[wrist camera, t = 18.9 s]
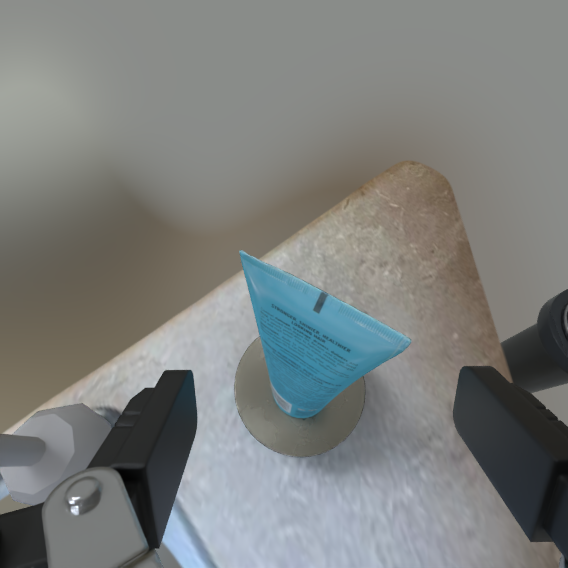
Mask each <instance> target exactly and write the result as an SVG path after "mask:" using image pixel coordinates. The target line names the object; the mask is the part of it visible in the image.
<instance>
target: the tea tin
mask: <svg viewBox="0 0 568 568" xmlns="http://www.w3.org/2000/svg"><path fill="white" fill-rule="evenodd" d="M234 394H235V401H236V406H237V409H238V412H239V415H240V417H241V419H242V421H243V423H244V425H245V426H246V428H247V429H248V430H249V432H250V433H251V434H252V435H253V436H254V437H255V438H256V439H257V440H258V441H259V442H260V443H262V444H263V445H264V446H266V447H267V448H269V449H271V450H273V451H275V452H277V453H280V454H283V455H287V456H292V457H309V456H315V455H319V454H322V453H324V452H327V451H329V450H331V449H333V448H334V447H336V446H338V445H339V444H340V443H341V442H343V441H344V440H345V439H346V438H347V437H348V436H349V435H350V433H351V432H352V431H353V429H354V428H355V426H356V424H357V423H358V421H359V419H360V416H361V413H362V411H363V406H364V402H365V381H364V376H362V377H361V378H359V379H358V380H356V381H355V382H353V383H352V384H351V385H350V386H348V387H347V388H346V389H344V390H343V391H342V392H341V393H339V394H338V395H337V396H336V397H335V398H334V399H333V400H331V401H330V402H329V403H328V404H327V405H326V406H325V407H324V408H323V409H322V410H321V411H320V412H318V413H317V414H315V415H314V416H311V417H308V418H295V417H292V416H290V415H288V414H286V413H285V412H283V411H282V410H281V409H280V408H279V406H278V405H277V403H276V401H275V399H274V396H273V392H272V387H271V383H270V378H269V373H268V368H267V364H266V359H265V355H264V351H263V347H262V342H261V338H260V336H259V337H258V338H257V339H256V340H255V341H254V342H253V343H252V344H251V345H250V346H249V347H248V349H247V350H246V351H245V353H244V355H243V357H242V358H241V360H240V363H239V365H238V368H237V372H236V376H235V384H234Z"/></svg>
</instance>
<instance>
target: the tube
mask: <svg viewBox="0 0 568 568" xmlns="http://www.w3.org/2000/svg"><path fill="white" fill-rule="evenodd" d="M240 256H241V262H242V266H243V270H244V274H245V278H246V281H247V285H248V289H249V293H250V297H251V301H252V305H253V310H254V314H255V318H256V322H257V326H258V330H259V334H260V338H261V342H262V347H263V351H264V355H265V359H266V364H267V368H268V373H269V378H270V383H271V387H272V392H273V396H274V399H275V401H276V403H277V405H278V406H279V408H280V409H281V410H282V411H283V412H285V413H286V414H288V415H290V416H292V417H295V418H308V417H311V416H314V415H315V414H317V413H318V412H320V411H321V410H322V409H323V408H324V407H325V406H326V405H327V404H328V403H329V402H330V401H331V400H333V399H334V398H335V397H336V396H337V395H338V394H339V393H341V392H342V391H343V390H344V389H346V388H347V387H348V386H350V385H351V384H352V383H353V382H355V381H356V380H358V379H359V378H361V377H362V376H364V375H365V374H367V373H368V372H370V371H371V370H373V369H374V368H376V367H377V366H379V365H381V364H382V363H384V362H386V361H388V360H389V359H391V358H393V357H395V356H396V355H398V354H400V353H402V352H403V351H404V350H405V349H406V348H407V347H408V346H409V345H410V343H411V339H410V338H408V337H407V336H405V335H403V334H401V333H400V332H398V331H396V330H394V329H392V328H391V327H389V326H387V325H385V324H384V323H382V322H380V321H378V320H376V319H374V318H373V317H371V316H369V315H368V314H366V313H364V312H362V311H360V310H358V309H356V308H355V307H353V306H351V305H349V304H347V303H345V302H343V301H341V300H339V299H337V298H336V297H334V296H332V295H330V294H328V293H326V292H324V291H322V290H321V289H319V288H317V287H315V286H313V285H311V284H309V283H307V282H305V281H303V280H301V279H299V278H297V277H295V276H293V275H292V274H290V273H287V272H285V271H283V270H281V269H279V268H277V267H274V266H272V265H269V264H267V263H264V262H262V261H261V260H259V259H257V258H255V257H253V256H251V255H249V254H247V253H246V252H244V251H242V250H240Z"/></svg>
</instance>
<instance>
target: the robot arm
mask: <svg viewBox="0 0 568 568" xmlns="http://www.w3.org/2000/svg"><path fill="white" fill-rule="evenodd" d="M561 326H562V330H563V333H564V335H565V337H566V339H567V341H568V303H567V304H566V305H565V306H564V308H563V310H562V314H561ZM453 418H454V423H455V427H456V429H457V431H458V433H459V435H460V436H461V438H462V439H463V441H464V442H465V444H466V445H467V447H468V448H469V450H470V451H471V453H472V454H473V456H474V457H475V459H476V460H477V462H478V463H479V465H480V466H481V468H482V469H483V471H484V472H485V474H486V475H487V477H488V478H489V480H490V481H491V483H492V484H493V486H494V487H495V489H496V490H497V492H498V493H499V495H500V496H501V498H502V499H503V501H504V502H505V504H506V505H507V507H508V508H509V510H510V511H511V513H512V514H513V516H514V517H515V519H516V520H517V522H518V523H519V525H520V526H521V528H522V529H523V531H524V532H525V534H526V535H527V537H528V538H529V540H530V542H554V543H555V545H556V546H557V547H558V549H559V550H560V552H561V553H562V555H561V558H560V562H559V568H568V427H567V426H566V425H565V424H564V423H563V422H562V421H558V418H557V417H556V416H555V415H554V414H553V413H552V412H551V411H550V410H549V409H546V407H545V406H544V405H543V404H542V403H541V402H540V401H539V400H538V399H536V398H535V397H534V396H533V395H532V394H531V393H529V392H527V391H525V390H524V389H522V388H520V387H518V386H517V385H515V384H513V383H509V382H508V381H507V380H506V379H505V378H504V377H503V376H502V375H501V374H500V373H499V372H498V371H497V370H496V369H495V368H493V367H491V366H464V367H462V369H461V370H460V373H459V379H458V385H457V391H456V396H455V402H454V408H453ZM196 429H197V407H196V397H195V388H194V378H193V373H192V371H191V370H165V371H164V372H163V374H162V376H161V377H160V379H159V381H158V383H157V384H156V386H155V388H145V389H143V390H142V391H141V392H140V393H138V394H137V395H136V396H134V397H133V398H132V399H131V400H130V401H129V403H128V405H127V406H126V408H125V409H124V411H123V412H122V415H120V417H119V418H118V420H117V422H116V423H115V427H113V428H112V429H111V431H110V432H109V434H108V435H107V437H106V439H105V440H104V442H103V443H102V445H101V446H100V448H99V449H98V451H97V452H96V454H95V456H94V457H93V459H92V460H91V462H90V463H89V465H88V466H87V468H86V469H85V470H82V471H80V472H77V473H75V474H73V475H71V476H70V477H68V478H67V479H65V480H64V481H62V482H61V483H60V484H59V485H57V486H56V487H55V488H54V489H53V491H52V492H51V493H50V494H49V495H48V497H47V499H46V500H45V502H43V503H40V504H37V505H34V506H30V507H27V508H23V509H19V510H16V511H12V512H8V513H5V514H2V515H0V568H163V565H162V563H161V561H160V558H159V556H158V554H157V552H156V550H155V549H154V548H159V547H160V544H161V541H162V538H163V535H164V532H165V529H166V525H167V522H168V519H169V516H170V513H171V510H172V507H173V504H174V500H175V497H176V494H177V491H178V488H179V485H180V482H181V479H182V475H183V472H184V469H185V466H186V463H187V460H188V457H189V454H190V450H191V447H192V444H193V441H194V438H195V434H196Z"/></svg>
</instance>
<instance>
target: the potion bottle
mask: <svg viewBox="0 0 568 568" xmlns="http://www.w3.org/2000/svg"><path fill="white" fill-rule="evenodd" d="M110 431H111V424H110V423H109V422H108V421H107V420H106V419H105V418H103V417H102V416H100V415H99V414H97V413H96V412H94V411H93V410H91V409H90V408H89V407H87V406H86V405H84V404H83V403H81V404H74V405H68V406H63V407H58V408H52V409H47V410H42V411H38V412H36V413H35V414H34V415H33V416H31V417H30V418H29V419H28V420H27V421H26V422H25V423H24V424H23V425H22V426H20V427H19V428H18V429H17V430H16V431H15V432H14V433H13V434H12V435H9V434H0V472H1V475H2V477H3V479H4V481H5V484H6V486H7V488H8V490H9V493H10V495H11V497H12V499H13V500H14V501H17V502H21V503H24V504H29V505H37V504H40V503H43V502H45V500H46V499H47V497H48V495H49V494H50V493H51V492H52V491H53V489H54V488H55V487H56V486H57V485H59V484H60V483H61V482H62V481H64V480H65V479H67V478H68V477H70V476H71V475H73V474H75V473H77V472H80V471H82V470H85V469H86V468H87V466H88V465H89V463H90V462H91V460H92V459H93V457H94V456H95V454H96V452H97V451H98V449H99V448H100V446H101V445H102V443H103V442H104V440H105V439H106V437H107V435H108V434H109V432H110Z"/></svg>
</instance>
